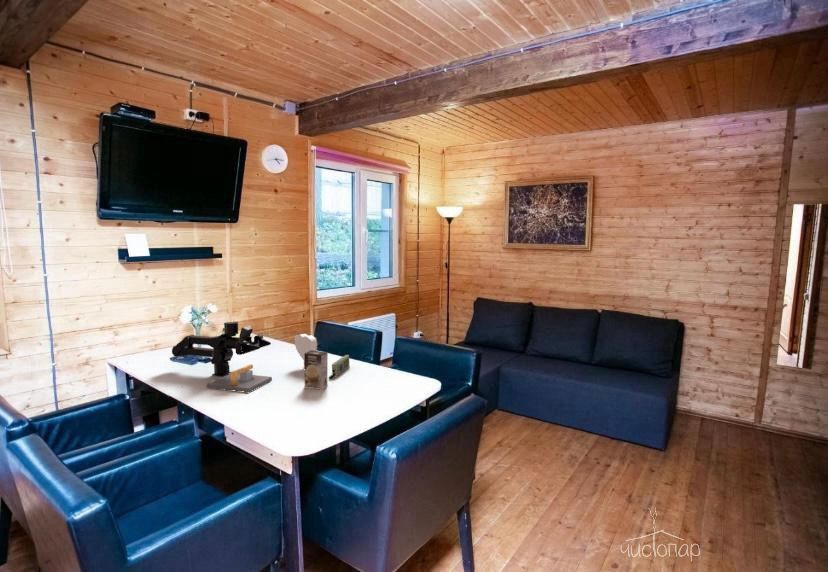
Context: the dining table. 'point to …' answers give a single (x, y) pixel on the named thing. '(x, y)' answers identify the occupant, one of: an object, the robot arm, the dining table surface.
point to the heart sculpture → (305, 344)
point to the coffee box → (315, 369)
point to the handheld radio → (340, 366)
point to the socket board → (239, 383)
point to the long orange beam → (239, 371)
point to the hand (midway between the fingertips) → (265, 345)
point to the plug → (246, 375)
